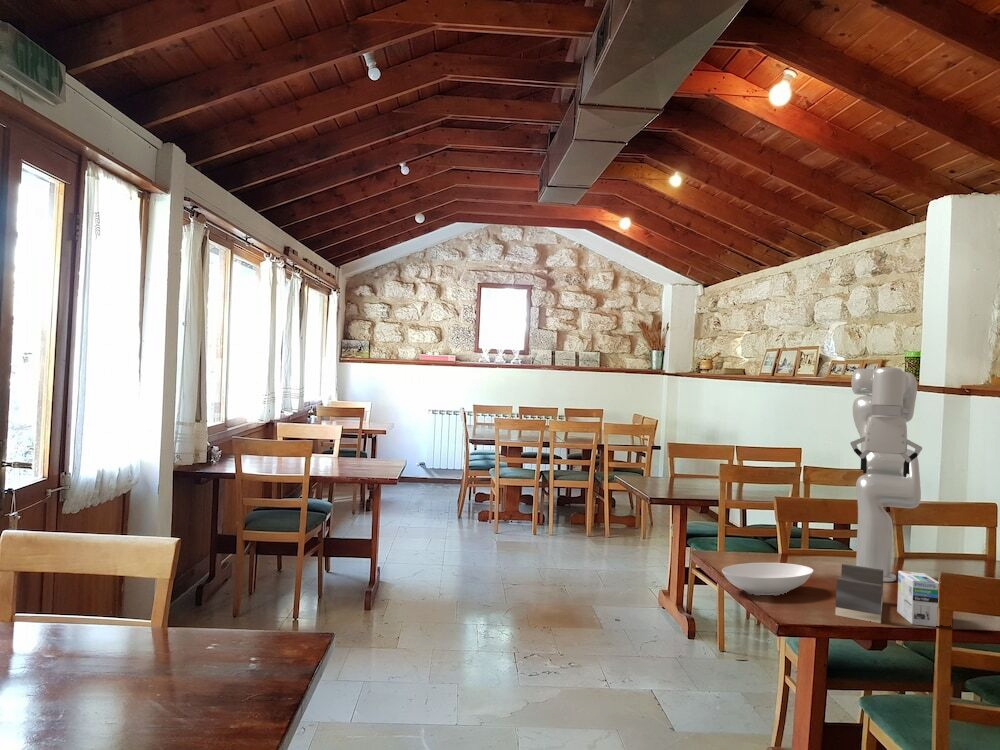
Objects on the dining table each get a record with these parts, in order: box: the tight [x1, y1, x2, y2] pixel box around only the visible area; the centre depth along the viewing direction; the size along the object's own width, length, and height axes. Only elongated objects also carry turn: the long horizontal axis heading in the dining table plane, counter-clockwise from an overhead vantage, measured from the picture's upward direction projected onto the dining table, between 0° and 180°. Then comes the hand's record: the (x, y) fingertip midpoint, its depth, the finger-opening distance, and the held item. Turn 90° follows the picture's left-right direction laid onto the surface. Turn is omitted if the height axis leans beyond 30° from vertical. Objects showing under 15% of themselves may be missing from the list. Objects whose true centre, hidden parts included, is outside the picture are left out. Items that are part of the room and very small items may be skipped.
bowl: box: [721, 562, 814, 596], centre depth 194 cm, size 30×15×6 cm, turn 114°
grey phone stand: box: [834, 563, 884, 624], centre depth 181 cm, size 20×10×9 cm, turn 150°
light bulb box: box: [896, 570, 940, 628], centre depth 175 cm, size 11×7×11 cm, turn 168°
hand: (884, 474), depth 192 cm, fingers open, 9 cm apart
